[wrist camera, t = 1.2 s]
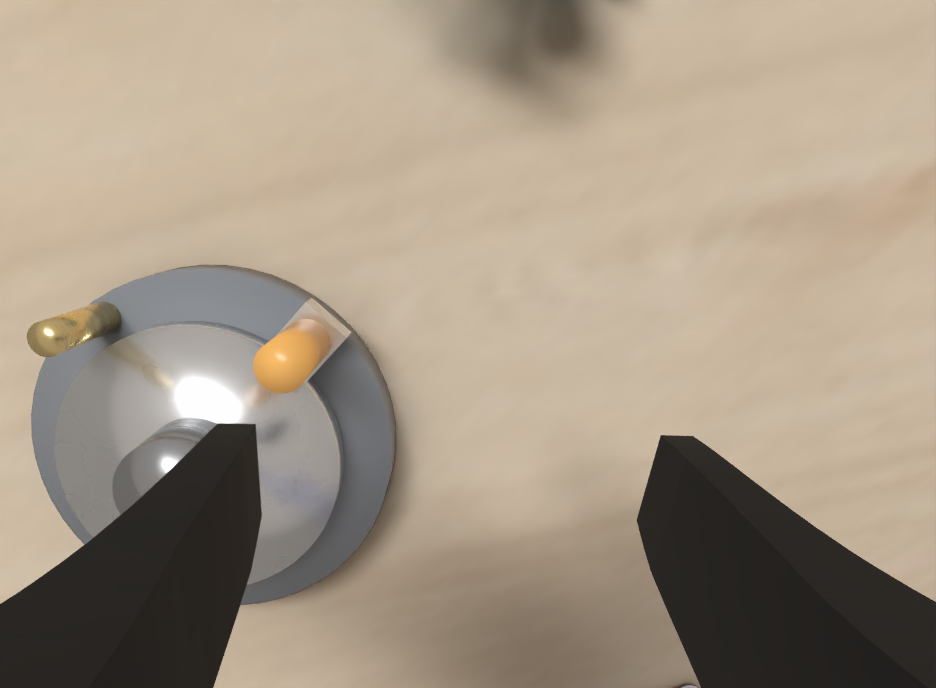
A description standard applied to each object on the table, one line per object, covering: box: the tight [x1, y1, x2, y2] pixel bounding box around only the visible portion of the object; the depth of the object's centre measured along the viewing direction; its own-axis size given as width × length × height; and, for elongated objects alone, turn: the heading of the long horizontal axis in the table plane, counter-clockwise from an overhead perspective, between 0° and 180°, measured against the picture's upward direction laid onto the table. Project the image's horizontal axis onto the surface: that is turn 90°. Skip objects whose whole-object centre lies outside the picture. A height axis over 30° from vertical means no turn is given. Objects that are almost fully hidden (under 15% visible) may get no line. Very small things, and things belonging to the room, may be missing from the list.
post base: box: [27, 265, 396, 605], centre depth 21 cm, size 12×12×4 cm
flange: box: [54, 298, 351, 585], centre depth 20 cm, size 11×9×4 cm
